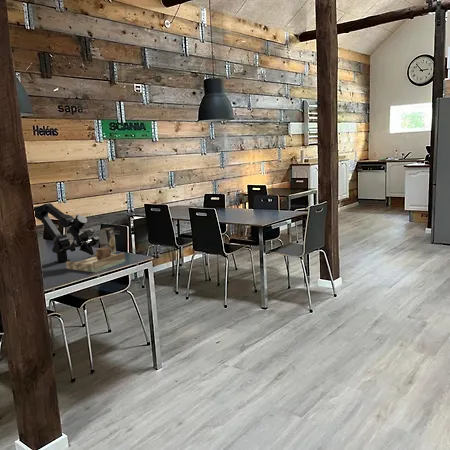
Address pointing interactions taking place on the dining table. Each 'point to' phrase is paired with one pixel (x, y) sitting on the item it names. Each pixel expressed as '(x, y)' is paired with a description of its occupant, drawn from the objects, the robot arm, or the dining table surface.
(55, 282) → the dining table surface
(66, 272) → the dining table surface
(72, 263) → the trap lane
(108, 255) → the walnut block
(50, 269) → the dining table surface
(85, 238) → the robot arm
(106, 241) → the coffee box
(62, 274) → the dining table surface
